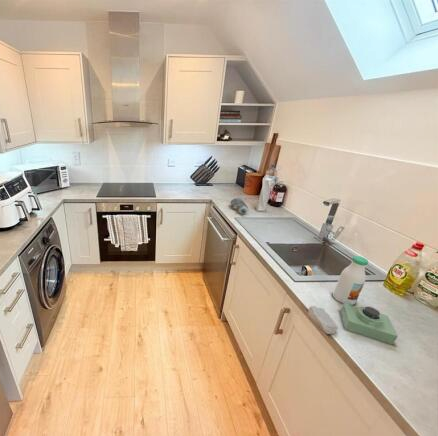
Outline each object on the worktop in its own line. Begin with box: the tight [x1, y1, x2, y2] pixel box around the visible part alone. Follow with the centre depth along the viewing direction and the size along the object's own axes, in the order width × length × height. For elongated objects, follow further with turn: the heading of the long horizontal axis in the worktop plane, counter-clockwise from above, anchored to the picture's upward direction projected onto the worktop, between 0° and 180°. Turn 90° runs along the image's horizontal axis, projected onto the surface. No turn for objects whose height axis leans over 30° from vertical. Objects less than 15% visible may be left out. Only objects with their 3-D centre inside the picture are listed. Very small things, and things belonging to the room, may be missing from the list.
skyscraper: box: [255, 174, 274, 213], centre depth 188 cm, size 8×8×28 cm
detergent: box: [230, 197, 249, 215], centre depth 191 cm, size 13×7×25 cm
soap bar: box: [307, 305, 339, 335], centre depth 87 cm, size 10×6×6 cm, turn 174°
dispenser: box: [339, 303, 399, 345], centre depth 85 cm, size 13×10×6 cm
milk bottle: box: [332, 255, 369, 306], centre depth 95 cm, size 8×8×20 cm
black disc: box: [363, 306, 381, 319], centre depth 84 cm, size 4×4×2 cm
